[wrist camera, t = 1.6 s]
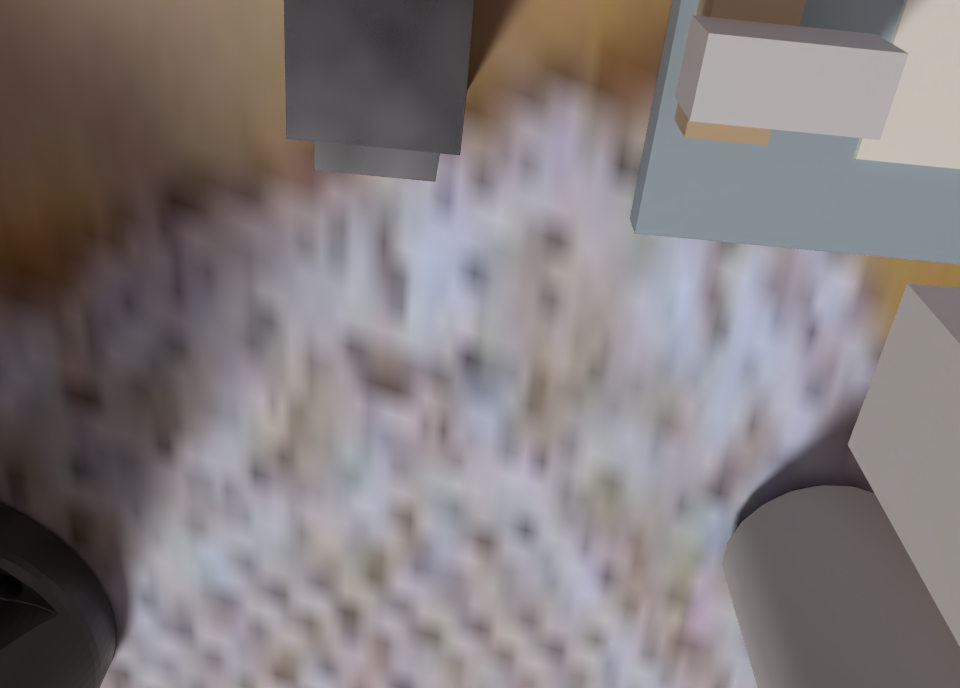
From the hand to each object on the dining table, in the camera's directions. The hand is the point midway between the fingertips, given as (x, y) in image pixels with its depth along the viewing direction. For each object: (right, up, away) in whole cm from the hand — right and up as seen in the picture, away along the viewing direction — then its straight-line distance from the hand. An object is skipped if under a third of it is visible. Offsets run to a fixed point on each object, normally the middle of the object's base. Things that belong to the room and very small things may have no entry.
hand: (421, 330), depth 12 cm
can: (+15, -8, +25) cm, 30 cm away
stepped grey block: (-2, +10, +14) cm, 17 cm away
